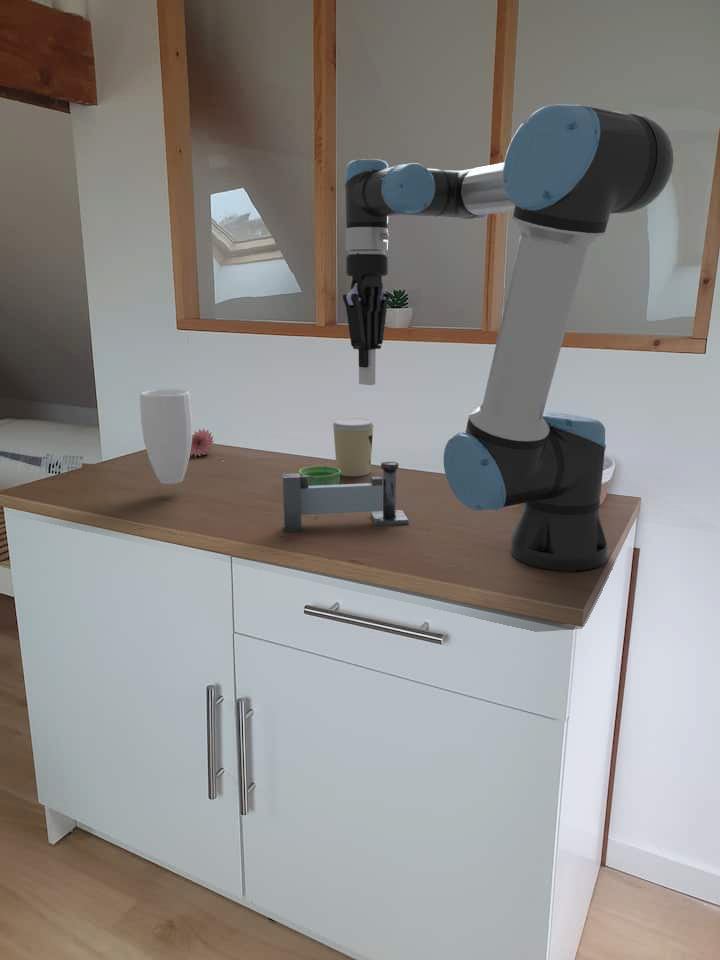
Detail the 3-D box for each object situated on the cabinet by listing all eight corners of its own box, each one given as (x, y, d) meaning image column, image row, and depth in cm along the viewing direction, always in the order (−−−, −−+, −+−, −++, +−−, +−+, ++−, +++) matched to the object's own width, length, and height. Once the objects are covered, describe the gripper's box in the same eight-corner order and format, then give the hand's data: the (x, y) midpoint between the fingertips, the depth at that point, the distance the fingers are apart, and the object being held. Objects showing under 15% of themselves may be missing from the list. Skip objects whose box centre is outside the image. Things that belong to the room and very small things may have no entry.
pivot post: (408, 523, 136) (409, 467, 134) (376, 525, 136) (376, 468, 133) (401, 514, 142) (402, 459, 139) (371, 515, 141) (371, 460, 138)
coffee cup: (379, 475, 170) (380, 423, 167) (341, 479, 167) (341, 426, 164) (364, 465, 179) (364, 416, 176) (327, 469, 175) (327, 419, 172)
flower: (207, 428, 194) (196, 419, 189) (226, 444, 190) (215, 435, 186) (187, 451, 194) (176, 443, 189) (206, 468, 190) (195, 460, 185)
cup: (159, 505, 148) (151, 398, 142) (138, 494, 156) (129, 391, 150) (206, 495, 154) (200, 392, 149) (183, 485, 162) (176, 387, 157)
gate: (380, 508, 139) (380, 472, 137) (382, 511, 137) (382, 474, 135) (295, 512, 137) (294, 475, 135) (295, 515, 135) (294, 478, 133)
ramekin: (290, 490, 158) (289, 470, 157) (321, 482, 165) (320, 463, 163) (318, 499, 152) (318, 478, 151) (349, 490, 159) (349, 470, 157)
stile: (301, 531, 133) (300, 477, 130) (284, 532, 132) (283, 477, 130) (300, 525, 136) (299, 472, 133) (283, 526, 135) (282, 473, 133)
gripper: (366, 252, 126) (366, 390, 132) (402, 253, 137) (401, 381, 143) (329, 252, 130) (331, 387, 136) (368, 254, 141) (368, 379, 147)
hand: (367, 384), depth 140 cm, fingers closed
